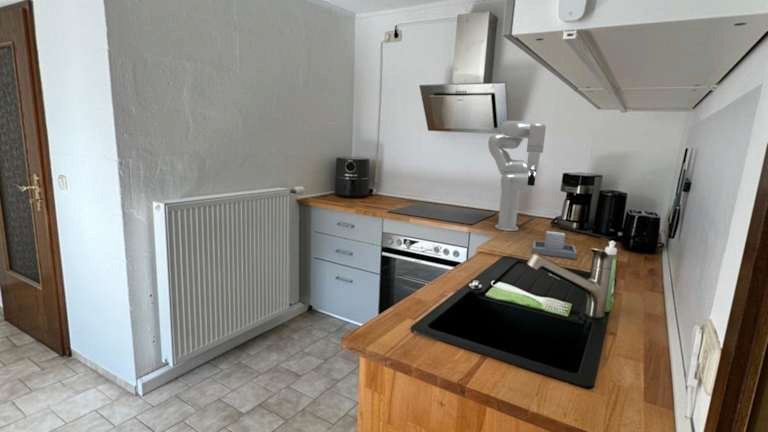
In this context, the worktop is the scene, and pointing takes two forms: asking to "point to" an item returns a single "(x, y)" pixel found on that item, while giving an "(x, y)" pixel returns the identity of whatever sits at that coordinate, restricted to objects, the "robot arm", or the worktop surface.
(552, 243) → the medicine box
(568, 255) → the tray
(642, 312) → the worktop surface
